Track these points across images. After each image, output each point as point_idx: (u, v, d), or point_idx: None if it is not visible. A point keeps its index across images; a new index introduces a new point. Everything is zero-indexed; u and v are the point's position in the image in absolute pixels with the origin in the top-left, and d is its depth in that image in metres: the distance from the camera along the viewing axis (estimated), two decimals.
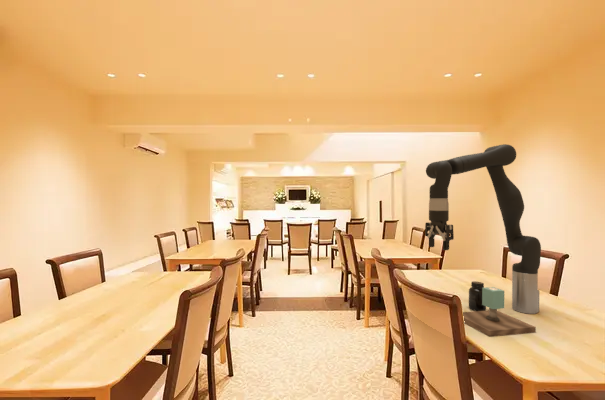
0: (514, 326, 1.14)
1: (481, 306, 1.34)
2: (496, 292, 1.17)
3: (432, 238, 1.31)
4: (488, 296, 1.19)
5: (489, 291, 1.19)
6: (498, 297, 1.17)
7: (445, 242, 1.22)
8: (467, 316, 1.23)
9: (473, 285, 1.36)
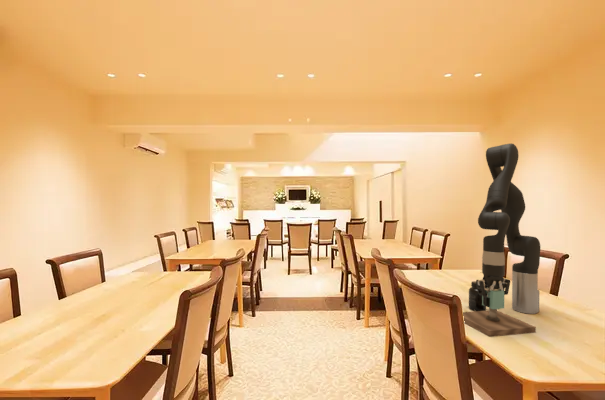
0: (514, 326, 1.14)
1: (481, 306, 1.34)
2: (496, 292, 1.17)
3: None
4: None
5: None
6: (498, 297, 1.17)
7: None
8: (467, 316, 1.23)
9: (473, 285, 1.36)
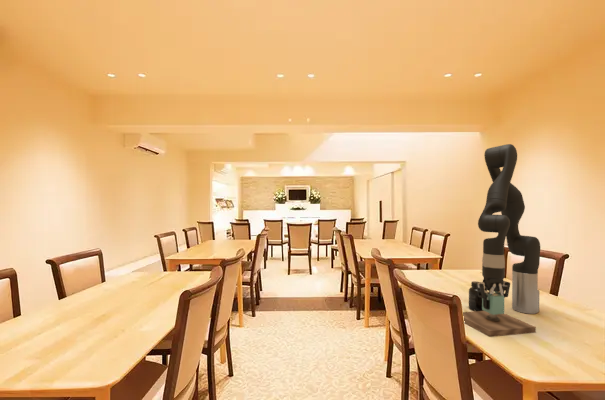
0: (514, 326, 1.14)
1: (481, 306, 1.34)
2: (496, 297, 1.17)
3: None
4: None
5: None
6: (498, 302, 1.17)
7: None
8: (467, 316, 1.23)
9: (473, 285, 1.36)
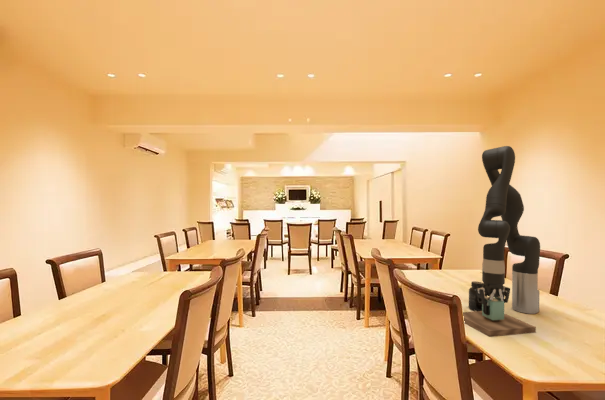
0: (514, 326, 1.14)
1: (481, 306, 1.34)
2: (496, 303, 1.17)
3: None
4: None
5: None
6: (498, 308, 1.17)
7: None
8: (467, 316, 1.23)
9: (473, 285, 1.36)
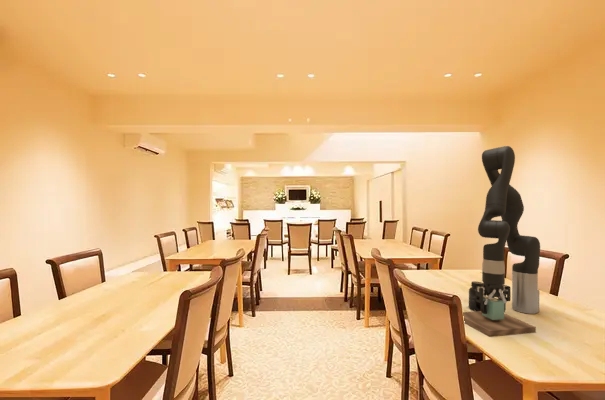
0: (514, 326, 1.14)
1: None
2: (496, 303, 1.17)
3: None
4: (488, 306, 1.19)
5: (489, 302, 1.19)
6: (498, 308, 1.17)
7: (504, 304, 1.20)
8: (467, 316, 1.23)
9: (473, 285, 1.36)
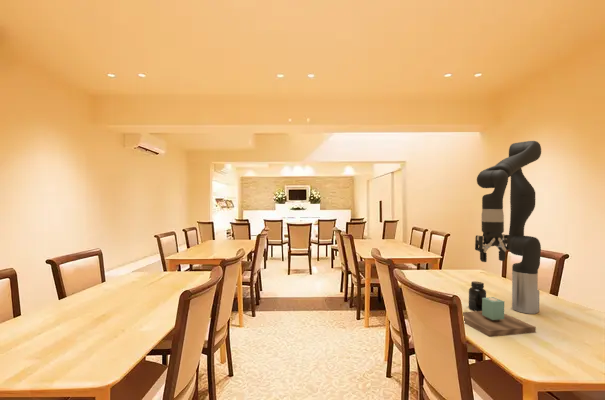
0: (514, 326, 1.14)
1: (481, 306, 1.34)
2: (496, 303, 1.17)
3: None
4: (488, 306, 1.19)
5: (489, 302, 1.19)
6: (498, 308, 1.17)
7: (504, 252, 1.22)
8: (467, 316, 1.23)
9: (473, 285, 1.36)
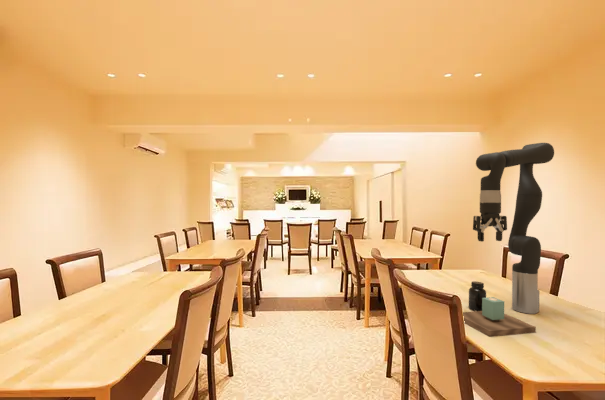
0: (514, 326, 1.14)
1: (481, 306, 1.34)
2: (496, 303, 1.17)
3: None
4: (488, 306, 1.19)
5: (489, 302, 1.19)
6: (498, 308, 1.17)
7: (501, 233, 1.26)
8: (467, 316, 1.23)
9: (473, 285, 1.36)
